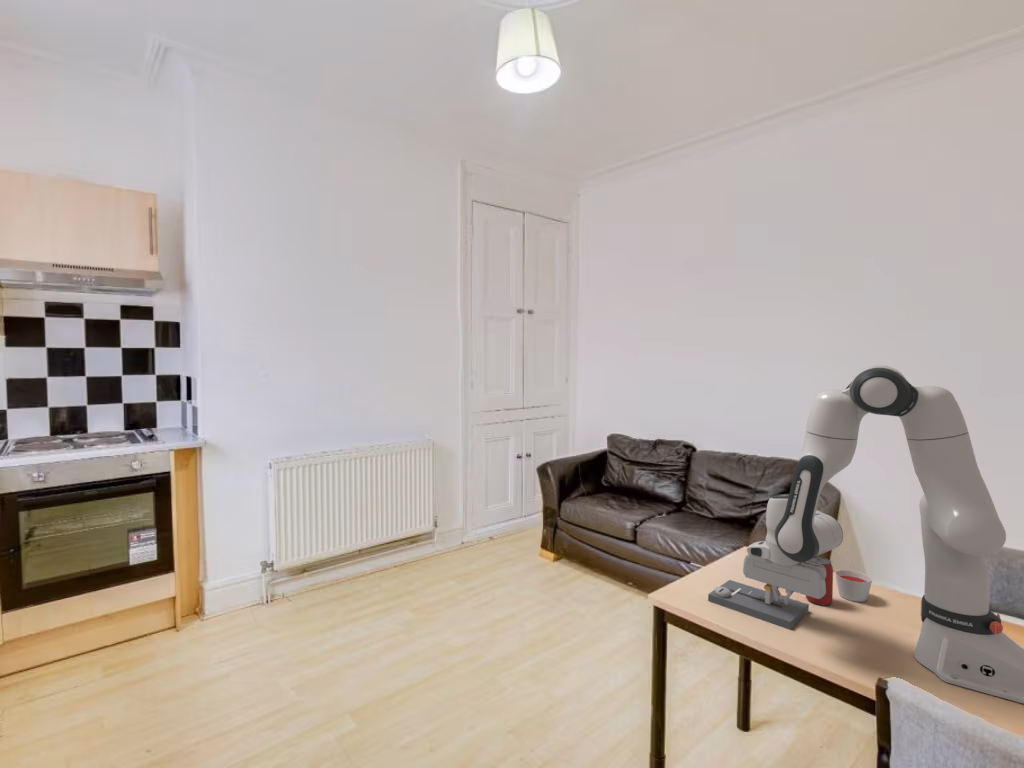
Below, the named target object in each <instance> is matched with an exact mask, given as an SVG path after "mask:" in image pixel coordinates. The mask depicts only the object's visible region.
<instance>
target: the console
mask: <svg viewBox="0 0 1024 768" xmlns="http://www.w3.org/2000/svg"><path fill="white" fill-rule="evenodd" d="M707 595H708V596H707V601H708V602H711V603H713V604H716V605H719V606H721V607H723V608H728V609H731V610H733V611H737V612H739V613H741V614H745V615H748V616H750V617H753V618H756V619H758V620H759V619H760V620H762V621H765V622H767V623H771V624H773V625H776V626H779V627H782V628H785V629H786V630H787V629H788V630H792V628H793V627H794V626H795V625H797V624H798V623H799V622H800V621H801V619H802V618H803V617H805V616H806V614H807V613H809V610H810V609H809V608H810V607H809V603H806V602H802V601H799V600H797V599H793V598H791V597H789V604H788V605H785V604H782V603H779V602H776V596H775V594H774V601H773V602H772V603H771V604H767V603H765V589H764V590H763V589H762V588H761V589H760V588H758V587H754V586H750V585H748V584H744V583H741V582H737V581H734V580H732V579H729V580H726V582H725V583H724V582H723V584H721V585H720V586H716V587H715V588H714V589H713V590H712V591H710V592H709V593H708V594H707Z"/></svg>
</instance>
